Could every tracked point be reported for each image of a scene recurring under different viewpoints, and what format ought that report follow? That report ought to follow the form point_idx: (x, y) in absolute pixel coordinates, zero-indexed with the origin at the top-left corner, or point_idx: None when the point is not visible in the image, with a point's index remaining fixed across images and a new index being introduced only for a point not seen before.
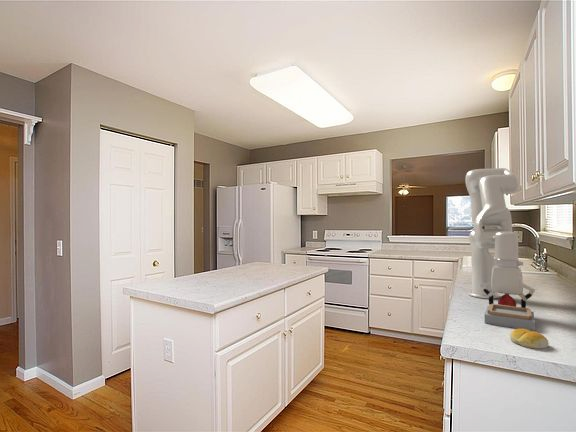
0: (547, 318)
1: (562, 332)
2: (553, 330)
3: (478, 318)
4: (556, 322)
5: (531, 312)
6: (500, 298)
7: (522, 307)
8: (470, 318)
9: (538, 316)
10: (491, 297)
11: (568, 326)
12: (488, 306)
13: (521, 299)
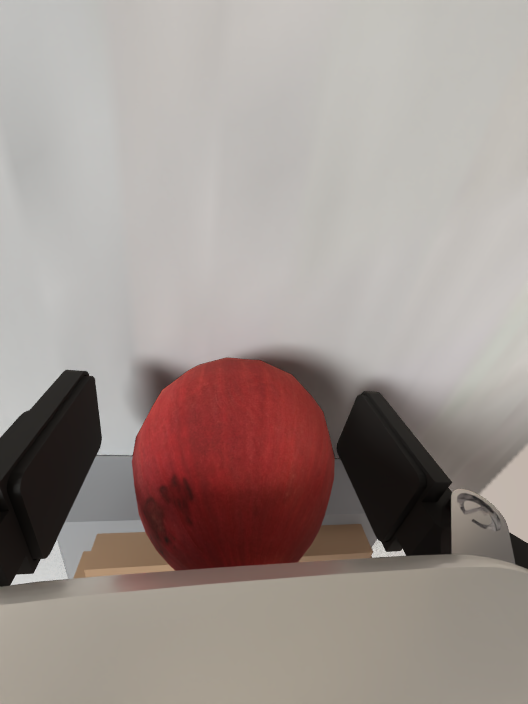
0: (478, 384)
1: (398, 554)
2: (377, 550)
3: (60, 560)
4: (472, 444)
5: (369, 534)
6: (154, 541)
7: (334, 556)
8: (19, 578)
9: (447, 359)
10: (22, 566)
11: (482, 480)
12: (66, 538)
13: (419, 492)
